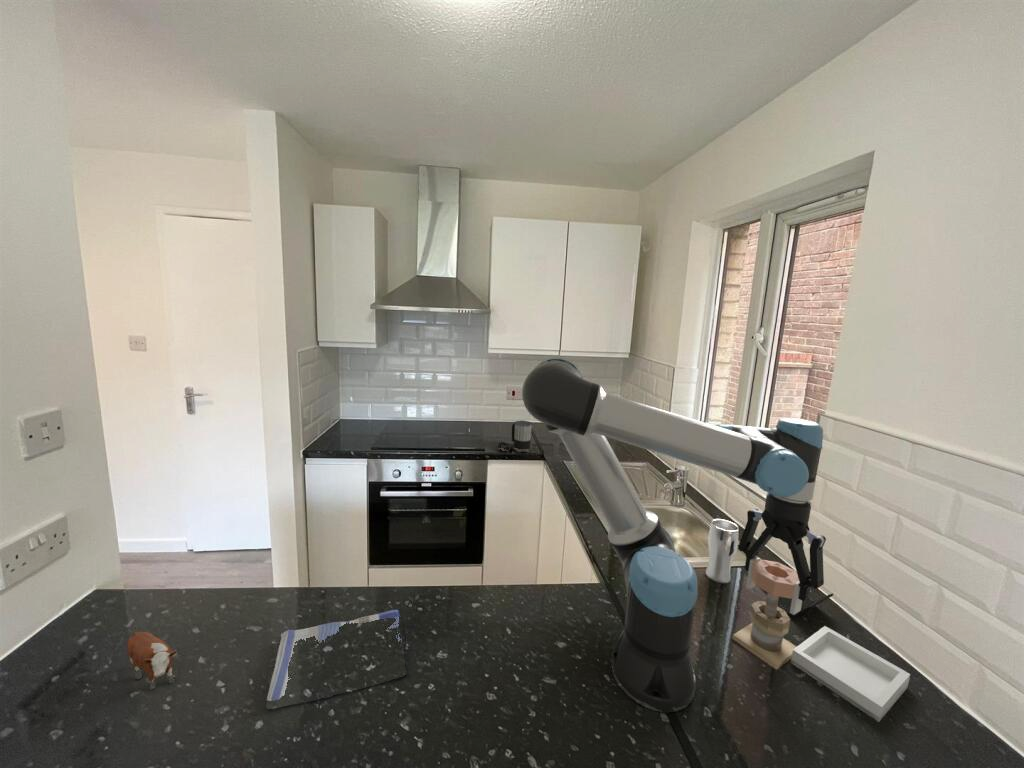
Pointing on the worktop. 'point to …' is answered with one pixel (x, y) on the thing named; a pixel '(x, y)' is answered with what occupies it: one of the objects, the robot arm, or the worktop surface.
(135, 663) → the bull figurine
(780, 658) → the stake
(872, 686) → the tray
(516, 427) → the milk frother
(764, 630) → the oak ring
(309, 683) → the worktop surface
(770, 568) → the terracotta ring
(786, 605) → the handheld gaming console
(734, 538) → the silver metal tumbler
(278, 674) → the dish towel
